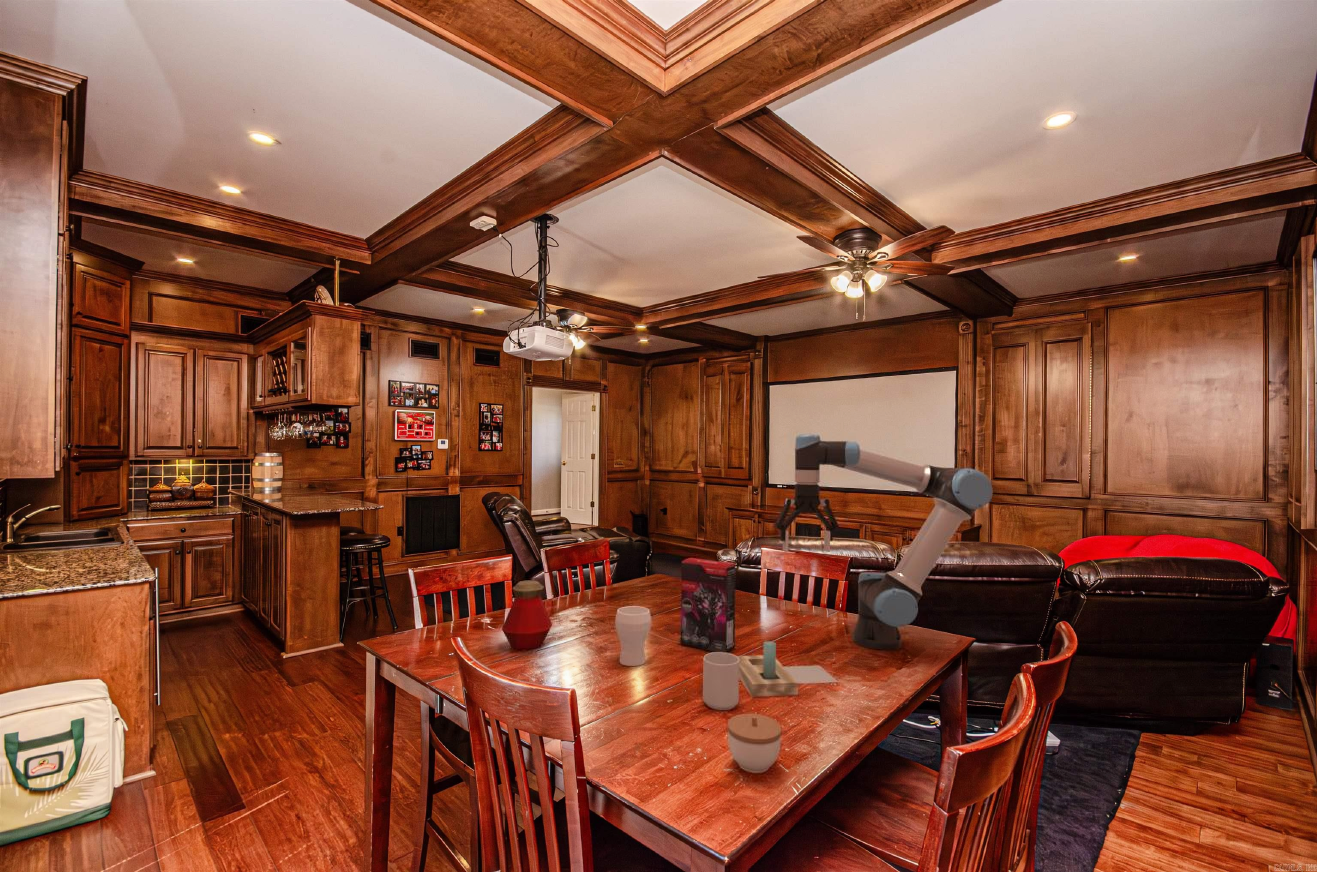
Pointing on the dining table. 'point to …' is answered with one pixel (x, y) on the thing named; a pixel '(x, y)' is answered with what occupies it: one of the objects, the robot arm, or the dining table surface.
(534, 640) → the bottle
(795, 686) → the hole block
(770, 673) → the peg
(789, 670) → the mat
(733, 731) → the lidded jar
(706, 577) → the graphics card box
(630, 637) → the cup
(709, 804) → the dining table surface
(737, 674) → the mug
